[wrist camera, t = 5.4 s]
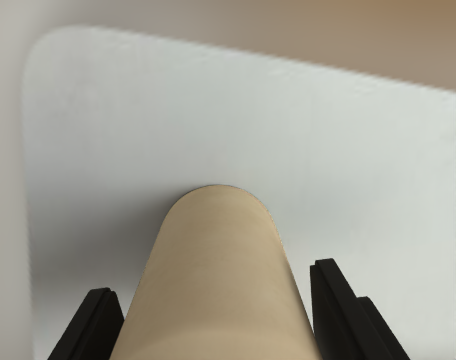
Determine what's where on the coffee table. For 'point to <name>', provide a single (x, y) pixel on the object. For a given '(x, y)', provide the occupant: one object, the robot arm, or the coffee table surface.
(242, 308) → the candle
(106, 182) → the coffee table surface
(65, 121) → the coffee table surface
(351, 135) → the coffee table surface
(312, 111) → the coffee table surface
